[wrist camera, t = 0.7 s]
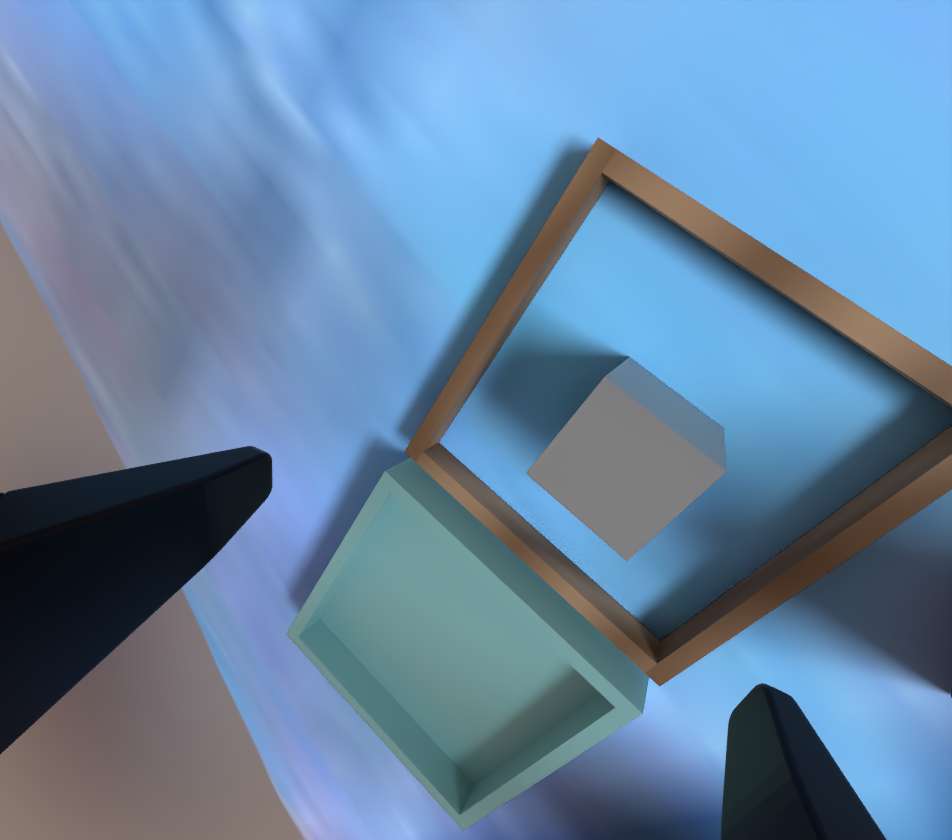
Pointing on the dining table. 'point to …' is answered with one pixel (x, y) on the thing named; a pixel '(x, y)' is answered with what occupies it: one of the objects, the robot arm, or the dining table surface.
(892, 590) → the dining table surface
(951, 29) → the dining table surface
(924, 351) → the corral
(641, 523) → the slate block
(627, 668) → the bin
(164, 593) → the robot arm
